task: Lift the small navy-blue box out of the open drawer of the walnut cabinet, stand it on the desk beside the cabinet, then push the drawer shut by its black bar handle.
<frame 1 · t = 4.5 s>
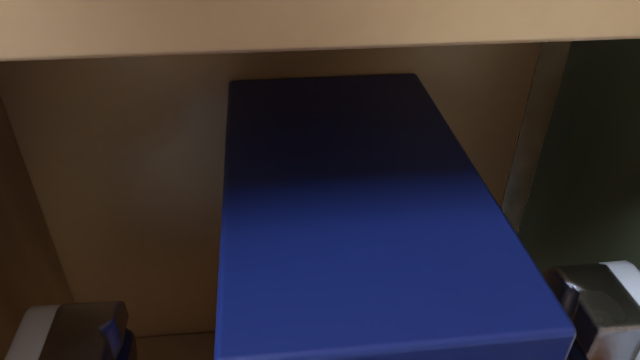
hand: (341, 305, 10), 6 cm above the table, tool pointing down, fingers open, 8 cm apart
drawer: (434, 230, 11), point 4 cm above the table, slide at 12.0 cm, touching navy box
navy box: (322, 173, 13), point 2 cm above the table, touching drawer
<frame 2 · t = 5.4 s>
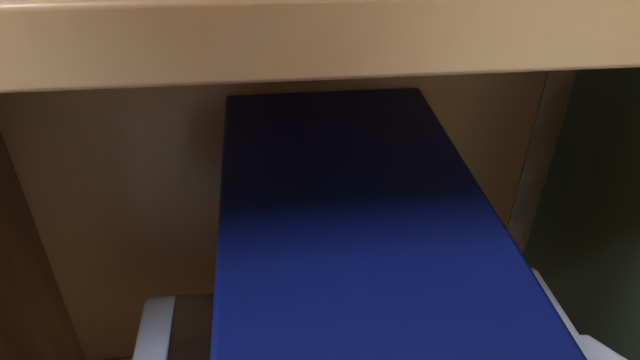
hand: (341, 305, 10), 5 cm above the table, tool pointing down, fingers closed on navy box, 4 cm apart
drawer: (442, 251, 11), point 4 cm above the table, slide at 12.1 cm, touching navy box
navy box: (322, 189, 13), point 2 cm above the table, touching drawer, gripper
when the fingers open (3 cm above the table, at t = 13.2 s): navy box stays where it is, on the table.
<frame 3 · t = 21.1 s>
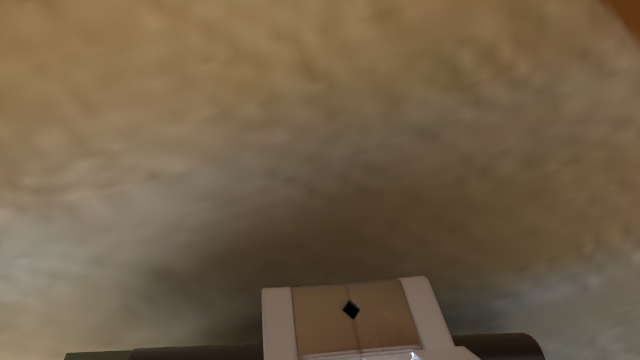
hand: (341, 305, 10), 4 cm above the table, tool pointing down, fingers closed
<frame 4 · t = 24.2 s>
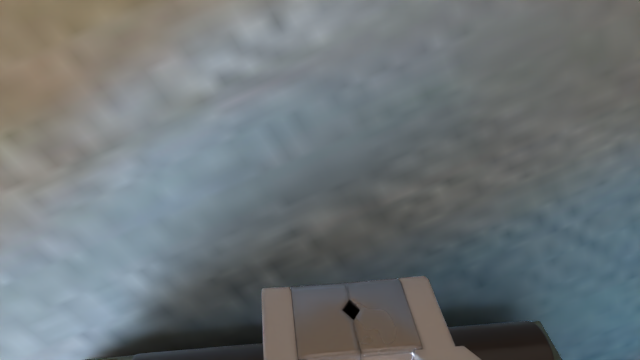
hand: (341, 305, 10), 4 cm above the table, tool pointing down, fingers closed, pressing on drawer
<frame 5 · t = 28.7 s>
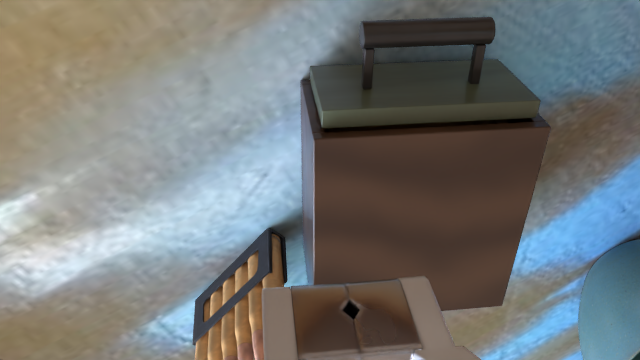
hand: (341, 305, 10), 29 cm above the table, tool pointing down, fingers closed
plant pot: (626, 269, 54), on the table
drawer: (410, 150, 38), point 4 cm above the table, slide at 0.2 cm
ammunition clip: (238, 268, 48), on the table
cabinet: (392, 166, 44), on the table
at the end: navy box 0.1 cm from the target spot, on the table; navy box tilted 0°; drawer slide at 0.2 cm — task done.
